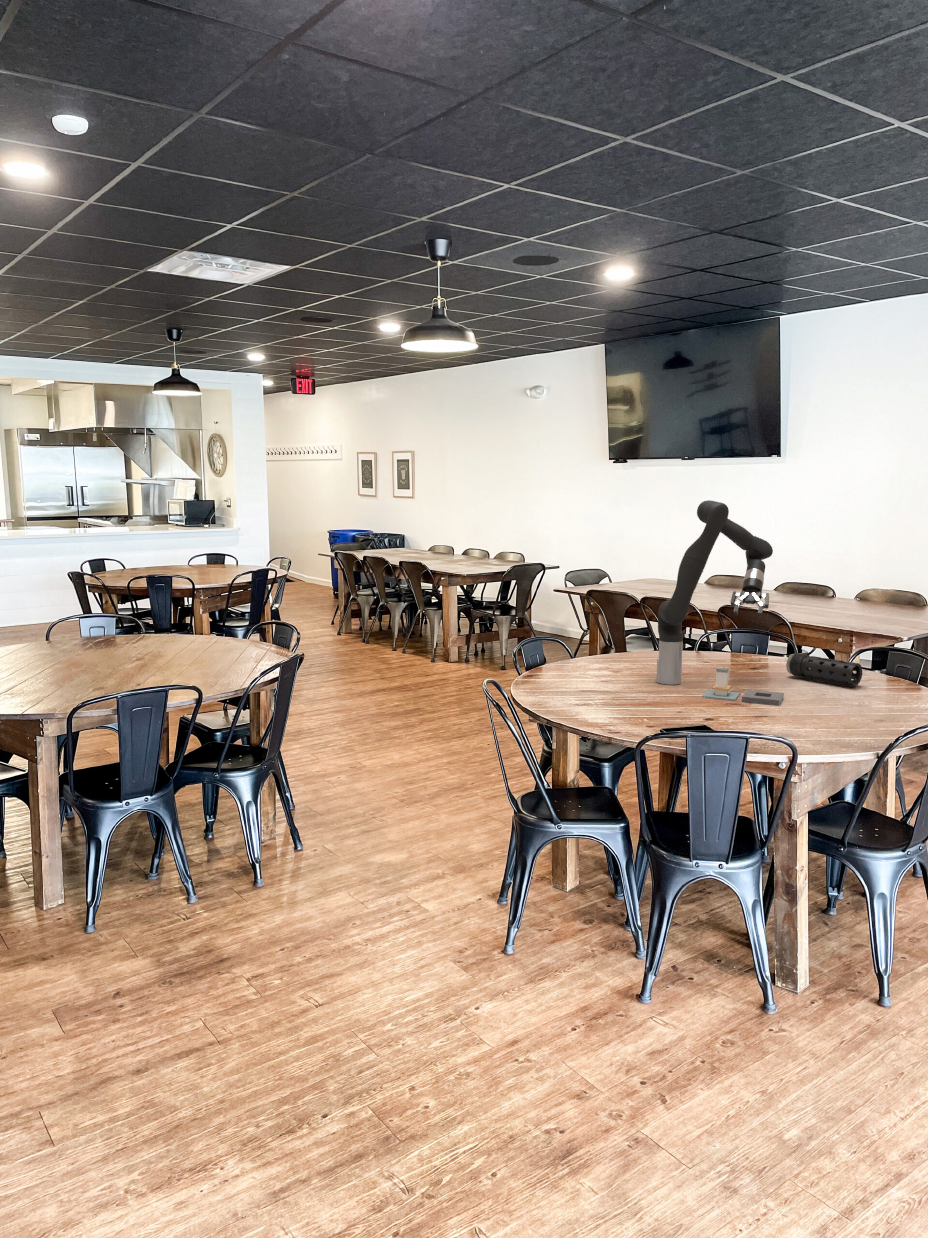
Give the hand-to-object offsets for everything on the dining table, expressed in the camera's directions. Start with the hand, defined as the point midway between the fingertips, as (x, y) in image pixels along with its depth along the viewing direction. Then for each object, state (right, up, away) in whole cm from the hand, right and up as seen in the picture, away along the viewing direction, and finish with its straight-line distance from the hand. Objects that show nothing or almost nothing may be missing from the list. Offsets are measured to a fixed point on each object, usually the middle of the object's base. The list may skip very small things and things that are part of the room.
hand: (747, 614), depth 340 cm
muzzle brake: (+34, -28, +11) cm, 45 cm away
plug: (-14, -30, -12) cm, 35 cm away
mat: (-14, -31, -12) cm, 36 cm away
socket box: (0, -32, -19) cm, 37 cm away
